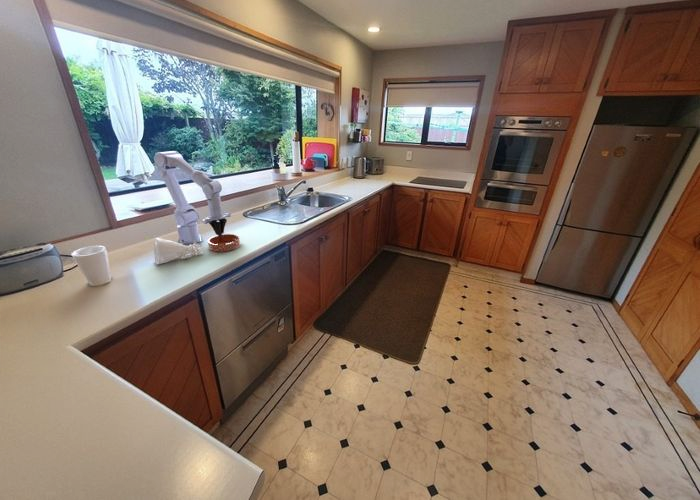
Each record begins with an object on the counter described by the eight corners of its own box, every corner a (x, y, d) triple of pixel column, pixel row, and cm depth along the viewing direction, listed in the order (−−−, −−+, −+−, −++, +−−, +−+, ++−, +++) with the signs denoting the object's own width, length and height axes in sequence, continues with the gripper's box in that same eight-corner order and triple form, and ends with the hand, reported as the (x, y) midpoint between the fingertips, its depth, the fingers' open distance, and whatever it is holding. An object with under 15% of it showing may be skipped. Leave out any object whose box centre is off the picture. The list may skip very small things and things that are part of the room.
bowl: (211, 254, 131) (210, 246, 130) (207, 244, 142) (205, 236, 141) (243, 248, 139) (241, 241, 137) (236, 239, 149) (235, 232, 148)
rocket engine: (202, 232, 130) (156, 232, 118) (207, 254, 126) (159, 256, 114) (197, 245, 138) (153, 246, 126) (201, 266, 134) (156, 269, 122)
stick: (219, 241, 139) (216, 222, 135) (218, 239, 140) (215, 220, 136) (223, 240, 140) (220, 221, 136) (222, 239, 141) (219, 220, 137)
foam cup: (91, 277, 109) (79, 247, 104) (119, 274, 113) (109, 244, 107) (79, 289, 101) (65, 257, 96) (110, 285, 104) (99, 254, 99)
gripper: (207, 212, 126) (212, 240, 131) (233, 205, 137) (237, 231, 143) (197, 209, 128) (202, 237, 134) (223, 203, 140) (227, 228, 146)
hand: (219, 233), depth 139 cm, fingers closed on stick, 2 cm apart
